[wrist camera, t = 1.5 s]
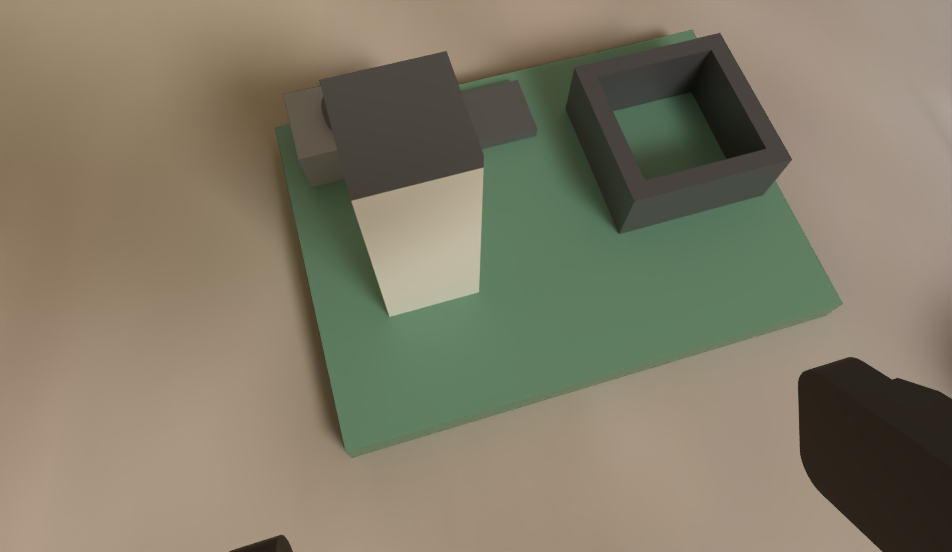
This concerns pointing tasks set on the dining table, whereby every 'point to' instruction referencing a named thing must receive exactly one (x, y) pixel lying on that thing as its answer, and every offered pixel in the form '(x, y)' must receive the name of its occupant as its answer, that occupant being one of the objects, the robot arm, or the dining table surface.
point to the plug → (411, 177)
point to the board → (565, 240)
